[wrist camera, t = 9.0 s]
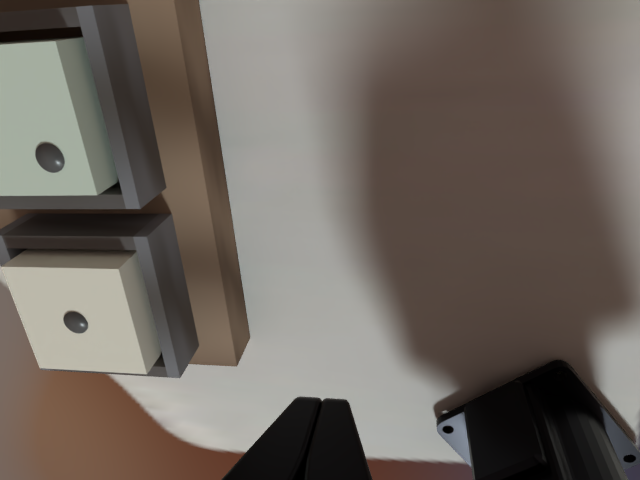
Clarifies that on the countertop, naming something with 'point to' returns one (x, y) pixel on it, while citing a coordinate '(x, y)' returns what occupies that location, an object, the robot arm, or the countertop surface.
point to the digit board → (146, 172)
